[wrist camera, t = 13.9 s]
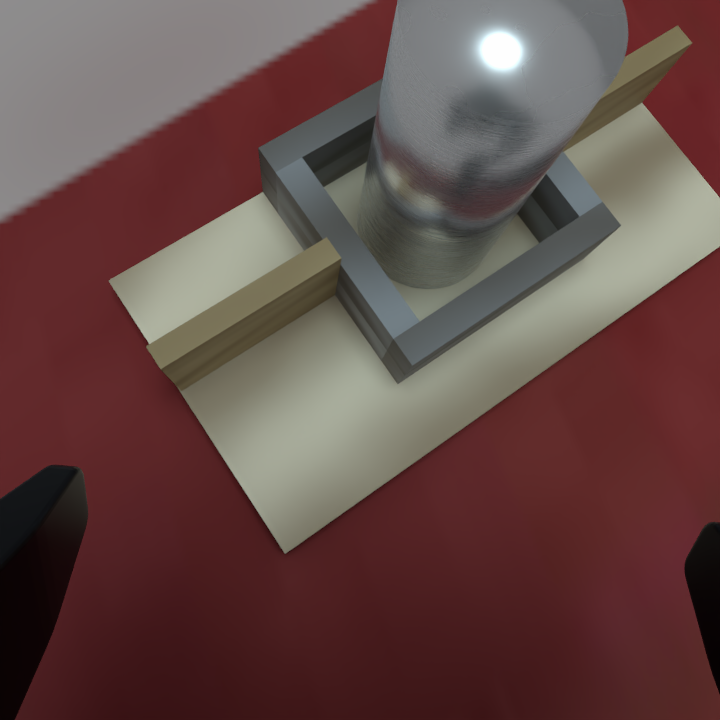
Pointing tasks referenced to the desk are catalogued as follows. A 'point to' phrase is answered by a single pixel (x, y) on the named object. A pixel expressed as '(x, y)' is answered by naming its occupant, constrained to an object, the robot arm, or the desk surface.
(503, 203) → the silver metal cylinder
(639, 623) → the desk surface
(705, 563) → the robot arm
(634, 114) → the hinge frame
